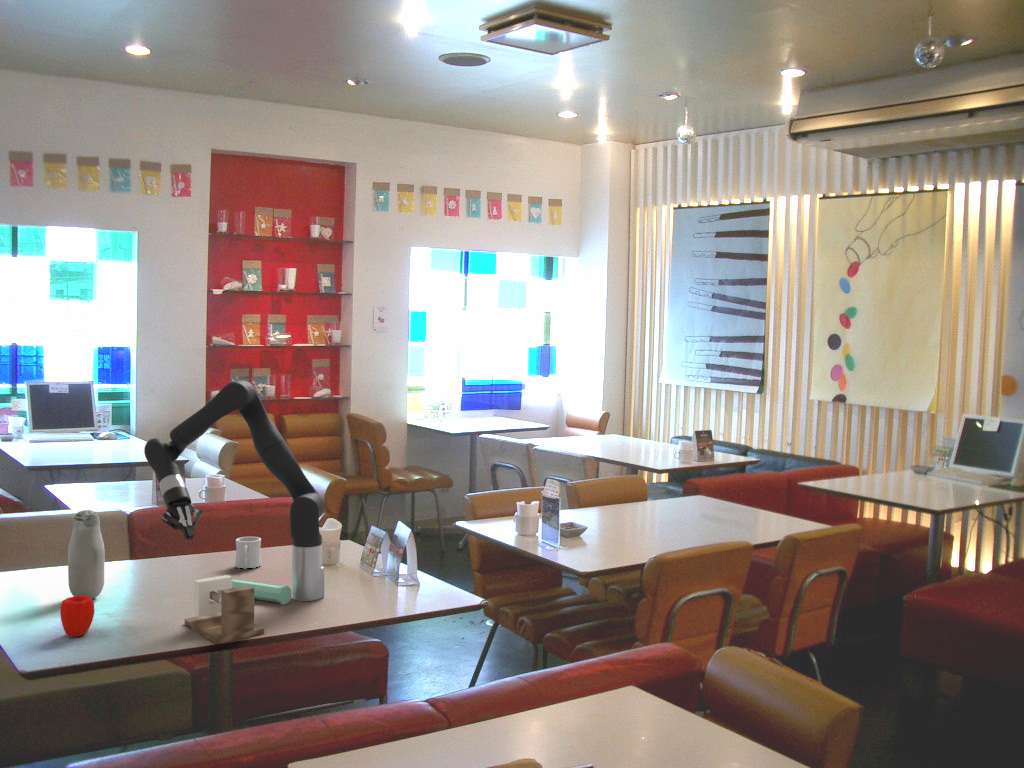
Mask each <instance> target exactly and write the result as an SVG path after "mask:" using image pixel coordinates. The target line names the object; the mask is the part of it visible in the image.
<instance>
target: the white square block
mask: <svg viewBox="0 0 1024 768" xmlns="http://www.w3.org/2000/svg"><path fill="white" fill-rule="evenodd" d="M232 579H233V577H232V576H231V575H229V574H224V575H219V576H213V577H212V576H211V577H207V578H201V579H195V580H194V616H195V617H197V616H198V617H202V616H207V615H213V614H218V613H221V604H219V603H217V602H215V601H213V600H211V599H210V592H211V591H215V592H217V593H219V594H221V590H225V589H231V588H232Z"/></svg>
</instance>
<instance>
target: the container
mask: <svg viewBox="0 0 1024 768" xmlns="http://www.w3.org/2000/svg"><path fill="white" fill-rule="evenodd" d="M248 585H249V586H251V587H253V588H254V600H260V601H265V602H266V601H267V602H272V603H277V604H278V603H279V604H280V605H282V606H283V605H287V604H289V602H290V600H291V598H292V588H290V586H289V585H283V586H281V585H275V584H267V583H260V582H254V581H246V580H241V579H234V578H232V588H236V587H242V586H248Z"/></svg>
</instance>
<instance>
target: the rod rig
mask: <svg viewBox="0 0 1024 768" xmlns="http://www.w3.org/2000/svg"><path fill="white" fill-rule="evenodd" d="M212 600H213V601H215V602H217V603H219V604H221V613H218V614H213V615H207V616H202V617H198V616H193V617H188V618H184V625H185V624H186V626H187V625H188V626H187V627H189V626H190V627H191V629H192V628H193V629H194V630H193V629H192V630H193V631H195V630H196V631H195V632H196V633H198V632H199V633H198V634H200V635H201V634H202V636H203V637H205V638H207V639H208V640H210V641H211V642H213V643H214V644H222V643H225V642H226V643H227V642H230V641H236V640H241V639H246V638H249V637H255V636H260V635H264V634H265V628H264V627H262V626H261V625H259V624H256V623H255V599H254V588H253V587H251V586H249V585H248V586H242V587H236V588H231V589H225V590H221V594H219V593H217V591H211V592H210V601H212ZM190 627H189V628H190Z"/></svg>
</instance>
